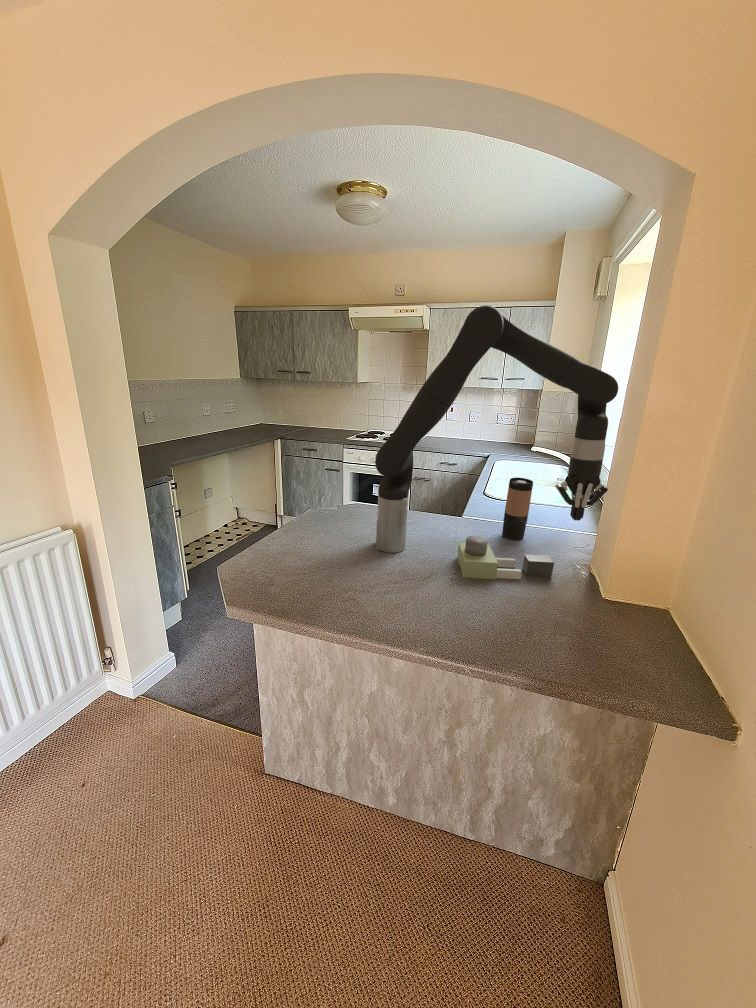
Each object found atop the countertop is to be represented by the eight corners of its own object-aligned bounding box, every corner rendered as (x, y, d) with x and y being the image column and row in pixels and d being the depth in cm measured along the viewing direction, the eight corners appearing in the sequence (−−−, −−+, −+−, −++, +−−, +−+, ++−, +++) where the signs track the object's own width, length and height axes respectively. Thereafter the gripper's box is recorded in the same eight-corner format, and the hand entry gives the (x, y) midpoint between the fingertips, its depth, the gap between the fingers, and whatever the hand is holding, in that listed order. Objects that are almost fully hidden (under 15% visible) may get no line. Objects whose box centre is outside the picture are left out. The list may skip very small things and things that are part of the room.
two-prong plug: (462, 577, 113) (466, 549, 110) (457, 557, 124) (460, 531, 121) (521, 580, 112) (526, 552, 110) (510, 560, 124) (514, 534, 121)
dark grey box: (525, 577, 115) (528, 561, 113) (522, 570, 118) (524, 554, 117) (551, 578, 114) (554, 562, 113) (546, 571, 118) (549, 555, 117)
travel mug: (521, 532, 145) (530, 478, 138) (526, 541, 137) (536, 484, 131) (499, 530, 145) (507, 476, 139) (503, 539, 138) (512, 483, 131)
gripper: (565, 458, 101) (555, 524, 106) (620, 459, 100) (608, 525, 105) (555, 452, 108) (546, 514, 113) (606, 453, 107) (595, 515, 112)
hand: (576, 519), depth 109 cm, fingers closed
